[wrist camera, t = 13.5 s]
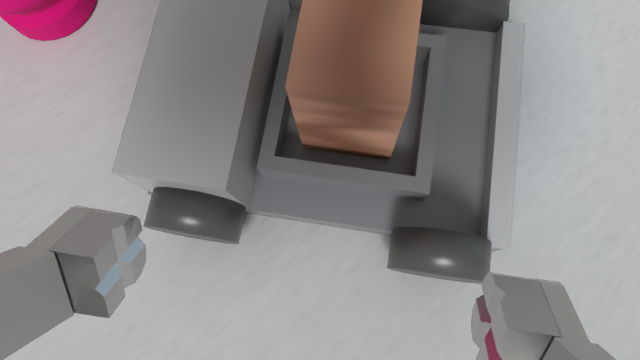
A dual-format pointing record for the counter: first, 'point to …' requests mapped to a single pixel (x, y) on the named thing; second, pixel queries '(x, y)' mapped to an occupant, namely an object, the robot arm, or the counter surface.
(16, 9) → the pepper mill
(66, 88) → the counter surface
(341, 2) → the brown rectangular block
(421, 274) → the chassis
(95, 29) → the counter surface
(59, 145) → the counter surface
